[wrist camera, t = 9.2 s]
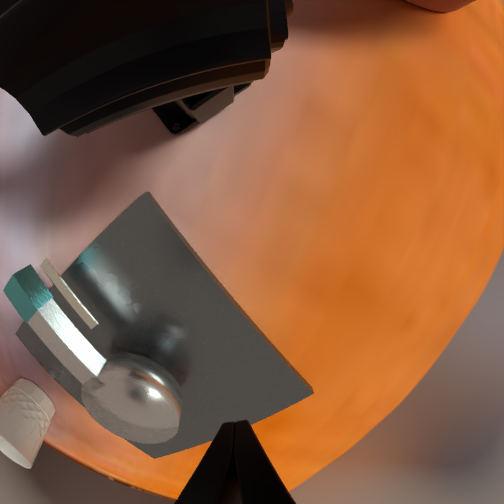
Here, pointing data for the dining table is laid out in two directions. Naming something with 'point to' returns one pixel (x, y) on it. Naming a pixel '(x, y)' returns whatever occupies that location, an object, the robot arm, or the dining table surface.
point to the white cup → (24, 421)
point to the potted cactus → (441, 4)
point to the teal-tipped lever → (102, 369)
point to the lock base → (169, 326)
